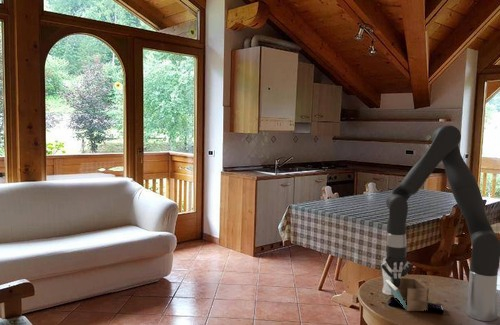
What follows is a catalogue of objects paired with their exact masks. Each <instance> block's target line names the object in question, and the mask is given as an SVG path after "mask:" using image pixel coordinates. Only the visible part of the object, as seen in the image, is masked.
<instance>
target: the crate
mask: <svg viewBox="0 0 500 325" xmlns="http://www.w3.org/2000/svg"><path fill="white" fill-rule="evenodd" d="M397 288H398V290H399V292H400V294H401V296H402V298H403V299H405V300H407V309H406V311H407V312H425V311H426V310H427V311H428V308H429V306H428V305H429V292H430V291H429V290H430V289H429V288H428V287H426V285H424V284H423V283H422V282H420V281H419V280H418V279H416V278H414V277H404V278H403V277H401V278H400V286H399V287H397ZM424 310H425V311H424ZM427 311H426V312H427Z"/></svg>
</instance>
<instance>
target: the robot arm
mask: <svg viewBox="0 0 500 325" xmlns="http://www.w3.org/2000/svg"><path fill="white" fill-rule="evenodd" d="M461 140H462V134H461V131H460V130H459V128H457V127H456V126H454V125H449V124H448V125H442V126H440V127H438V128H436V129H435V130H434V131H433V133H432V136H431V141H432V142H431V144H430V146H429V147H428V149H427V150H426V151H425V153H424V154H423V155H422V156H421V158H420V159H419V160H418V161H417V162H416V163H415V164H414V165H413V166H412V167H411V169H410V170H409V171H408V172H407V174H406V175H405V176H404V178H403V179H402V180H401V181H400V183H399V184H398V185H397V186H396V187H395V188H394V189H392V191H391V192H390V193H389V194H388V196H387V198H386V200H385V201H386V202H385V203H386V207H387V209H388V210H389V211H388V212H389V215H388V216H389V218H388V220H387V223H386V224H387V225H386V230H387V232H386V242H385V243H386V256H385V257H386V259H385V262H384V263H383V262H381V263H380V264H379V266H380V267H381V269H382V268H383V270H384V271H385V272H386V273H387V275H389V276H390V277H392V284H393V285H395V286H396V287H399V286H400V278H403V277H404V278H405V276H406V275H407V274H408V273H409V272H410V270H411V269H412V268H413V266H414V265H413V264H412V263H410V262H409V261H408V259H407V223H406V222H407V218H408V212H409V210H408V209H409V205H408V200H409V199H410V198H411V196H412V195H413V196H414V195H416V194H417V193H418V192H419V190H420V189H421V188H422V187H423V185H424V184H425V183H426V181H427V180H428V178H429V177H430V175H432V173H433V172H434V170H435V169H436V168H437V167H438V166H439V164H440V163H441V162H442V165H443V168H444V171H445V175H446V178H447V180H448V183H449V188H450V189H451V192H452V195H453V198H454V200H455V203H456V205H457V206H458V208H459V210H460V212H461V214H462V215H463V217H464V219H465V222H466V225H467V229H468V233H469V236H470V242H471V246H472V247H471V260H470V262H469V275H468V290H467V294H468V295H467V305H466V306H467V309H466V314H467V315H468V316H469V317H470V318H473V319H475V320H477V321H483V322H493V321H495V320H497V319H498V312H499V311H498V310H499V300H500V298H499V297H500V296H499V294H498V293H497V290H498V288H497V287H498V274H499V273H498V272H499V270H500V269H499V268H500V239H499V237H498V236H497V234H496V233H495V232H494V229H493V227H492V225H491V224H490V221H489V219H488V216H487V214H486V211H485V206H484V205H485V204H484V200H483V196H482V191H481V190H480V187H479V185H478V184H479V183H478V181H477V180H476V177H475V176H474V174H473V171H472V170H471V168H470V167H469V166H468V165H467V163H466V161H465V160H464V158H463V156H462V153H461V150H460V146H459V144H460V142H461ZM387 264H388V266H389V267H390V268H391V273H390V271H389V270H388V269H387V267H388V266H387Z"/></svg>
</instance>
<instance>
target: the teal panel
mask: <svg viewBox="0 0 500 325" xmlns="http://www.w3.org/2000/svg"><path fill="white" fill-rule="evenodd" d="M386 283H387V284H388V286H389V288H390V290H391V291H392V293H393V295H392V296H393V297H394V299H395V298H397V299H398V300H399V301H400V303H401V304H402V305H403V306H402V305H401V304H400V303H399V304H400V305H401V306H402V307H403V308H404V309H405V310H407V305H406V303H405V301H404V300H403V298H402V296H401V294H400V292H399V290H398V288H397V287H396V286H395V285H393V284H392V283H391V282H390V281H389V280H388V279H387V280H386Z"/></svg>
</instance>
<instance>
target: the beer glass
mask: <svg viewBox="0 0 500 325" xmlns="http://www.w3.org/2000/svg"><path fill="white" fill-rule="evenodd" d="M386 257H387V256H385V257H383V259H382V264H383V263H384V262H385V259H386ZM387 266H388V264H387ZM387 269H388V270H389V271H390V273H391V268H390V267H389V266H388V267H387ZM381 271H382V272H381V274H382V280H383V285H382V289H381V290H382V293H383V294H385V295H389V296H394V295H393V293H392V291H391V290H390V288H389V286H388V284H387V283H386V280H387V279H388V280H389V281H390V282H391V283H392V277H390V276H389V275H387V273H386V272H385V271H384V270H383V268H382V267H381Z"/></svg>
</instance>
